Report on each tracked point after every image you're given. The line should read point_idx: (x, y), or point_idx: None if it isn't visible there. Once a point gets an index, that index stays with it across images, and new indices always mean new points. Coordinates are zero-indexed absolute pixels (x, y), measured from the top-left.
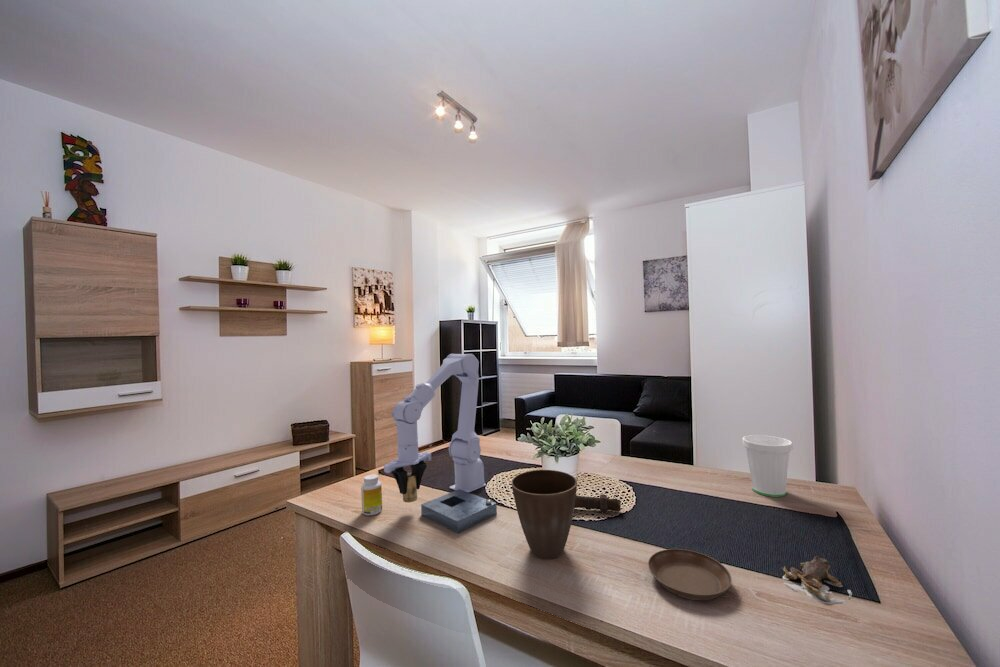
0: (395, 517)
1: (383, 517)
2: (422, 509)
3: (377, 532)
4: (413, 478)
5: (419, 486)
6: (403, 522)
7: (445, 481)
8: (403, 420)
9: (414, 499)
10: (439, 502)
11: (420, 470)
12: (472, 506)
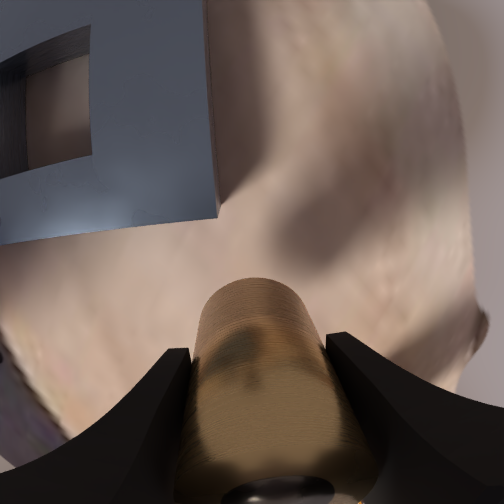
0: (342, 290)
1: (377, 329)
2: (217, 196)
3: (465, 207)
4: (266, 422)
5: (163, 358)
6: (347, 201)
7: (10, 419)
8: None
9: (247, 282)
10: (96, 145)
11: (101, 495)
12: None
